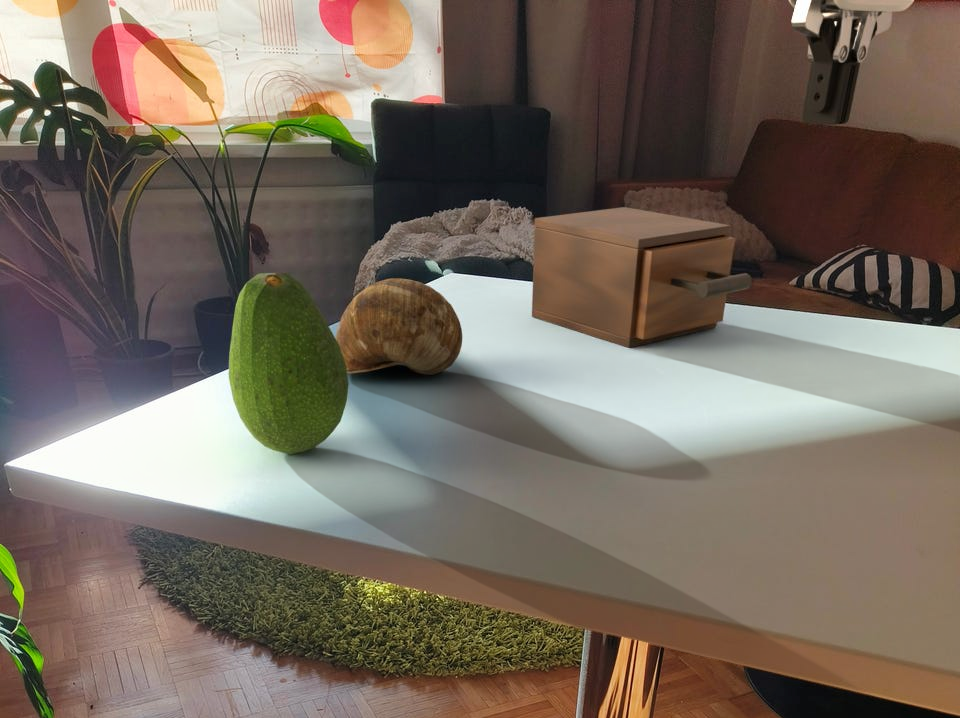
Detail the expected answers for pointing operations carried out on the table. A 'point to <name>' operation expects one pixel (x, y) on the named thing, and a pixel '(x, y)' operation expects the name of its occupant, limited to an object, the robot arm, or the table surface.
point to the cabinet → (603, 268)
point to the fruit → (285, 365)
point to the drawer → (685, 285)
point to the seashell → (399, 328)
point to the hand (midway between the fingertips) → (824, 122)
